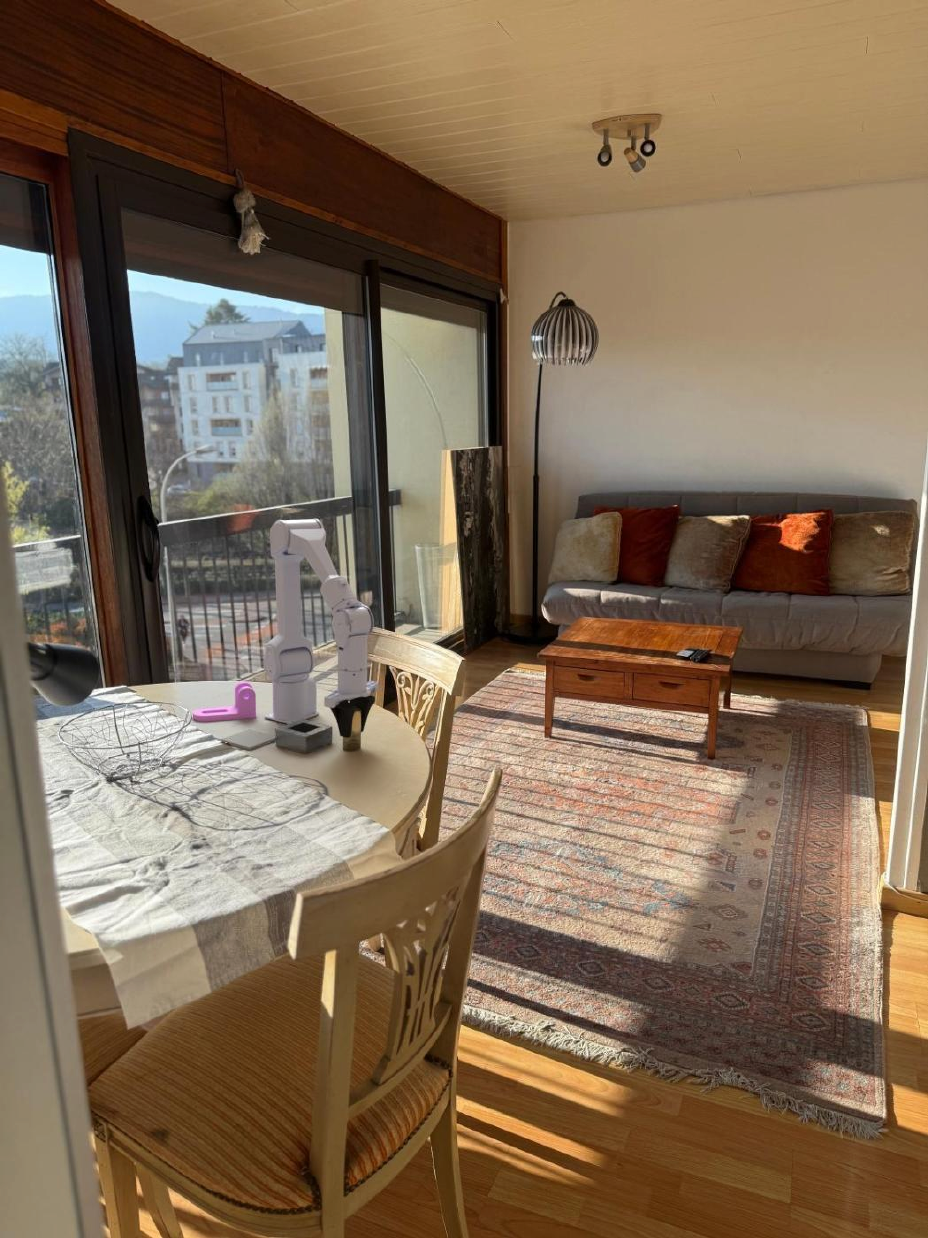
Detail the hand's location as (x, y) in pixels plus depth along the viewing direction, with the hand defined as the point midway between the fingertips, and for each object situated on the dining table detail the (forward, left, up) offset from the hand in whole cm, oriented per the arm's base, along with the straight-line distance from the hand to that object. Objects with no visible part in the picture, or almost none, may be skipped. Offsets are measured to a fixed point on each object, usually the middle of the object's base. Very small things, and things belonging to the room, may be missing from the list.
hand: (351, 733), depth 173 cm
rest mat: (+9, -19, -3) cm, 21 cm away
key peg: (0, 0, -3) cm, 3 cm away
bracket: (+1, -35, -3) cm, 35 cm away
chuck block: (+4, -9, -3) cm, 10 cm away
